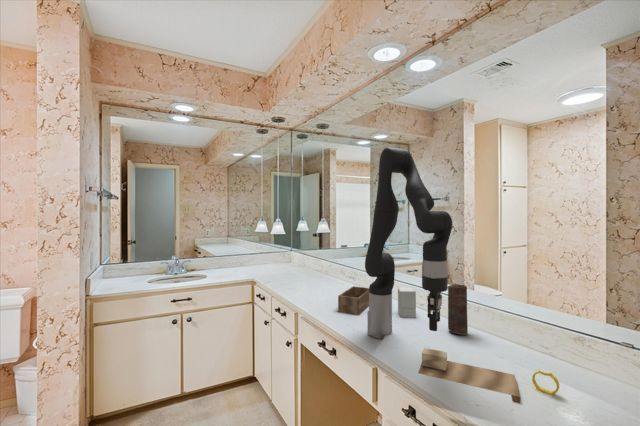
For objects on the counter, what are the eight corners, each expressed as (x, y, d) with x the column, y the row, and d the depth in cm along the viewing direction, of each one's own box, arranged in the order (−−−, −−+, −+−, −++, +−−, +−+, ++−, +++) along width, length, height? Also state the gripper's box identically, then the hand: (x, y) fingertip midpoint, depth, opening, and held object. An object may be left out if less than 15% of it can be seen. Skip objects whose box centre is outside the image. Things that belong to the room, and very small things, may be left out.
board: (418, 377, 92) (418, 372, 92) (423, 360, 102) (423, 355, 102) (520, 402, 80) (520, 396, 80) (514, 379, 91) (514, 374, 91)
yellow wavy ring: (532, 390, 86) (530, 368, 86) (534, 386, 88) (533, 365, 88) (558, 398, 81) (556, 375, 82) (560, 394, 83) (558, 372, 84)
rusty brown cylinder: (455, 337, 120) (456, 287, 120) (443, 330, 128) (443, 283, 127) (471, 335, 123) (471, 286, 122) (458, 328, 130) (459, 282, 129)
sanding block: (421, 367, 95) (421, 352, 95) (423, 361, 99) (423, 347, 99) (445, 372, 92) (445, 357, 92) (446, 366, 95) (446, 352, 95)
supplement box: (412, 312, 150) (412, 287, 149) (416, 318, 142) (416, 291, 142) (397, 312, 150) (397, 287, 150) (400, 317, 143) (400, 291, 143)
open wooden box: (338, 311, 151) (338, 295, 151) (353, 300, 170) (353, 286, 170) (359, 315, 146) (359, 298, 146) (372, 303, 165) (372, 288, 165)
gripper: (425, 269, 103) (425, 316, 103) (418, 277, 90) (418, 331, 90) (449, 271, 100) (449, 320, 100) (445, 280, 87) (445, 336, 87)
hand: (434, 325), depth 95 cm, fingers open, 8 cm apart
